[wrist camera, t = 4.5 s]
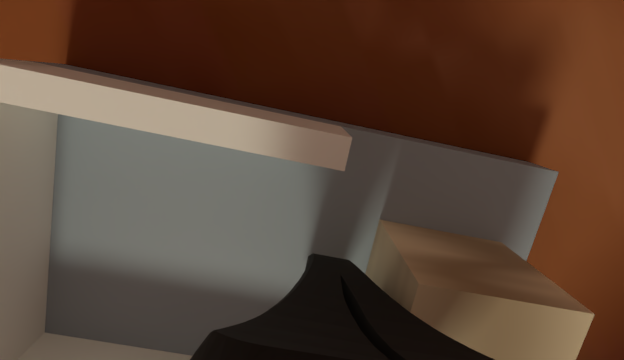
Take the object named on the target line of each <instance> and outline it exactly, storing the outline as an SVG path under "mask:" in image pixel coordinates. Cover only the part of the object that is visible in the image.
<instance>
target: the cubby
mask: <svg viewBox="0 0 624 360" xmlns="http://www.w3.org/2000/svg"><path fill="white" fill-rule="evenodd" d="M58 114H61V115H66V116H71V117H76V118H81V119H86V120H91V121H96V122H101V123H106V124H111V125H116V126H121V127H126V128H131V129H136V130H141V131H146V132H151V133H156V134H161V135H166V136H171V137H176V138H181V139H186V140H191V141H196V142H201V143H206V144H211V145H216V146H221V147H226V148H231V149H236V150H240V151H245V152H250V153H255V154H260V155H265V156H270V157H275V158H280V159H285V160H290V161H295V162H300V163H305V164H310V165H315V166H320V167H325V168H330V169H335V170H340V171H345V167H346V163H347V159H348V154H349V150H350V146H351V141H352V137H351V136H350V135H349V134H348V133H347V132H346V131H345V130H344V129H343V128H342V127H341V126H337V125H332V124H327V123H323V122H318V121H313V120H308V119H303V118H299V117H294V116H289V115H284V114H280V113H275V112H270V111H265V110H261V109H256V108H251V107H246V106H241V105H237V104H232V103H227V102H222V101H218V100H213V99H208V98H203V97H199V96H194V95H189V94H184V93H179V92H175V91H170V90H165V89H160V88H156V87H151V86H146V85H141V84H137V83H132V82H127V81H122V80H117V79H113V78H108V77H103V76H98V75H94V74H89V73H84V72H79V71H75V70H70V69H65V68H60V67H56V66H51V65H46V64H41V63H36V62H32V61H22V60H10V59H0V360H190V359H191V357H192V356H191V355H184V354H178V353H172V352H165V351H159V350H153V349H146V348H140V347H133V346H127V345H121V344H114V343H108V342H102V341H95V340H89V339H83V338H76V337H70V336H64V335H57V334H51V333H45V320H46V303H47V287H48V270H49V254H50V237H51V221H52V204H53V188H54V171H55V155H56V138H57V122H58Z"/></svg>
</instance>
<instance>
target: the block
mask: <svg viewBox="0 0 624 360" xmlns="http://www.w3.org/2000/svg"><path fill="white" fill-rule="evenodd" d="M365 274H366V275H367V276H368V277H369V278H370V279H371V280H372V281H373V282H374V283H375V284H376V285H377V286H379V287H380V288H381V289H382V290H383V291H384V292H385V293H387V294H388V295H389V296H390V297H391V298H392V299H394V300H395V301H396V302H397V303H399V304H400V305H401V306H402V307H404V308H405V309H406V310H408V311H409V312H410V313H412V314H413V315H415V316H416V317H418V318H419V319H421V320H422V321H424V322H425V323H427V324H428V325H430V326H431V327H433V328H434V329H436V330H438V331H440V332H441V333H443V334H445V335H446V336H448V337H450V338H452V339H454V340H456V341H458V342H459V343H461V344H463V345H465V346H467V347H469V348H471V349H473V350H475V351H477V352H479V353H481V354H484V355H486V356H488V357H490V358H493V359H495V360H576V358H577V356H578V353H579V351H580V349H581V346H582V344H583V341H584V339H585V337H586V334H587V332H588V329H589V327H590V325H591V322H592V320H593V317H594V315H595V314H594V313H592V312H591V311H590V310H589V309H587V308H586V307H585V306H583V305H582V304H581V303H580V302H578V301H577V300H576V299H574V298H573V297H572V296H570V295H569V294H568V293H567V292H565V291H564V290H563V289H561V288H560V287H559V286H557V285H556V284H555V283H554V282H552V281H551V280H550V279H548V278H547V277H546V276H544V275H543V274H542V273H541V272H539V271H538V270H537V269H535V268H534V267H533V266H532V265H530V264H529V263H528V262H526V261H525V260H524V259H522V258H521V257H520V256H519V255H517V254H516V253H515V252H513V251H512V250H511V249H509V248H508V247H507V246H506V245H504V244H503V243H502V242H497V241H492V240H487V239H481V238H476V237H470V236H465V235H460V234H454V233H449V232H444V231H438V230H433V229H428V228H422V227H417V226H412V225H406V224H401V223H395V222H390V221H385V220H379V223H378V227H377V231H376V235H375V239H374V242H373V246H372V250H371V254H370V258H369V262H368V266H367V269H366V273H365Z"/></svg>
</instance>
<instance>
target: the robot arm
mask: <svg viewBox="0 0 624 360" xmlns="http://www.w3.org/2000/svg"><path fill="white" fill-rule="evenodd" d="M190 360H495V359H493V358H490V357H488V356H486V355H484V354H481V353H479V352H477V351H475V350H473V349H471V348H469V347H467V346H465V345H463V344H461V343H459V342H458V341H456V340H454V339H452V338H450V337H448V336H446V335H445V334H443V333H441V332H440V331H438V330H436V329H434V328H433V327H431V326H430V325H428V324H427V323H425V322H424V321H422V320H421V319H419V318H418V317H416V316H415V315H413V314H412V313H410V312H409V311H408V310H406V309H405V308H404V307H402V306H401V305H400V304H399V303H397V302H396V301H395V300H394V299H392V298H391V297H390V296H389V295H388V294H387V293H385V292H384V291H383V290H382V289H381V288H380V287H379V286H377V285H376V284H375V283H374V282H373V281H372V280H371V279H370V278H369V277H368V276H367V275H366V274H365V273H363V272H362V271H361V270H360V269H359V268H358V267H357V266H356V265H355V264H354V263H352V262H351V261H350V260H347V259H342V258H336V257H330V256H325V255H319V254H314V253H312V254H311V255H309V256H308V259H307V263H306V268H305V271H304V273H303V274H302V276H301V278H300V279H299V281H298V282H297V283H296V284H295V286H294V287H293V288H292V289H291V291H290V292H289V293H288V294H287V295H286V296H285V297H284V298H283V299H282V300H280V301H279V302H278V303H277V304H276V305H274V306H273V307H272V308H270V309H269V310H268V311H266V312H265V313H263V314H261V315H259V316H257V317H255V318H253V319H251V320H248V321H246V322H243V323H240V324H236V325H233V326H229V327H225V328H221V329H216V330H213V331H212V332H210V333H209V335H208V336H207V337H206V338H205V340H204V341H203V342H202V344H201V345H200V346H199V348H198V349H197V350H196V352H195V353H194V354H193V356H192V357H191V359H190Z"/></svg>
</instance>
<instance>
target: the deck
mask: <svg viewBox="0 0 624 360" xmlns="http://www.w3.org/2000/svg"><path fill="white" fill-rule="evenodd" d="M32 62H33V61H32ZM36 63H41V64H46V65H51V66H56V67H60V68H65V69H70V70H75V71H79V72H84V73H89V74H94V75H98V76H103V77H108V78H113V79H117V80H122V81H127V82H132V83H137V84H141V85H146V86H151V87H156V88H160V89H165V90H170V91H175V92H179V93H184V94H189V95H194V96H199V97H203V98H208V99H213V100H218V101H222V102H227V103H232V104H237V105H241V106H246V107H251V108H256V109H261V110H265V111H270V112H275V113H280V114H284V115H289V116H294V117H299V118H303V119H308V120H313V121H318V122H323V123H327V124H332V125H337V126H341V127H342V128H343V129H344V130H345V131H346V132H347V133H348V134H349V135H350V136H351V137H352V141H351V146H350V150H349V154H348V159H347V163H346V167H345V171H340V170H335V169H330V168H325V167H320V166H315V165H310V164H305V163H300V162H295V161H290V160H285V159H280V158H275V157H270V156H265V155H260V154H255V153H250V152H245V151H240V150H236V149H231V148H226V147H221V146H216V145H211V144H206V143H201V142H196V141H191V140H186V139H181V138H176V137H171V136H166V135H161V134H156V133H151V132H146V131H141V130H136V129H131V128H126V127H121V126H116V125H111V124H106V123H101V122H96V121H91V120H86V119H81V118H76V117H71V116H66V115H61V114H58V122H57V138H56V155H55V171H54V188H53V204H52V221H51V237H50V254H49V270H48V287H47V303H46V320H45V333H51V334H57V335H64V336H70V337H76V338H83V339H89V340H95V341H102V342H108V343H114V344H121V345H127V346H133V347H140V348H146V349H153V350H159V351H165V352H172V353H178V354H184V355H191V356H193V354H194V353H195V352H196V350H197V349H198V348H199V346H200V345H201V344H202V342H203V341H204V340H205V338H206V337H207V336H208V335H209V333H210V332H212V331H213V330H216V329H221V328H225V327H229V326H233V325H236V324H240V323H243V322H246V321H248V320H251V319H253V318H255V317H257V316H259V315H261V314H263V313H265V312H266V311H268V310H269V309H270V308H272V307H273V306H274V305H276V304H277V303H278V302H279V301H280V300H282V299H283V298H284V297H285V296H286V295H287V294H288V293H289V292H290V291H291V289H292V288H293V287H294V286H295V284H296V283H297V282H298V281H299V279H300V278H301V276H302V274H303V273H304V271H305V268H306V263H307V259H308V256H309V255H311V254H312V253H314V254H319V255H325V256H330V257H336V258H342V259H347V260H350V261H351V262H352V263H354V264H355V265H356V266H357V267H358V268H359V269H360V270H361V271H362V272H363V273H366V269H367V266H368V262H369V258H370V254H371V250H372V246H373V242H374V239H375V235H376V231H377V227H378V223H379V220H385V221H390V222H395V223H401V224H406V225H412V226H417V227H422V228H428V229H433V230H438V231H444V232H449V233H454V234H460V235H465V236H470V237H476V238H481V239H487V240H492V241H497V242H502V243H503V244H504V245H506V246H507V247H508V248H509V249H511V250H512V251H513V252H515V253H516V254H517V255H519V256H520V257H521V258H522V259H524V260H525V261H526V260H527V258H528V255H529V252H530V249H531V247H532V244H533V241H534V238H535V236H536V233H537V230H538V227H539V225H540V222H541V219H542V216H543V214H544V211H545V208H546V205H547V203H548V200H549V197H550V194H551V192H552V189H553V186H554V183H555V181H556V178H557V175H558V172H557V171H554V170H551V169H548V168H545V167H542V166H539V165H536V164H533V163H530V162H527V161H522V160H517V159H513V158H508V157H503V156H498V155H494V154H489V153H484V152H479V151H475V150H470V149H465V148H460V147H456V146H451V145H446V144H441V143H437V142H432V141H427V140H422V139H418V138H413V137H408V136H403V135H399V134H394V133H389V132H384V131H380V130H375V129H370V128H365V127H361V126H356V125H351V124H346V123H342V122H337V121H332V120H327V119H323V118H318V117H313V116H308V115H304V114H299V113H294V112H289V111H285V110H280V109H275V108H270V107H266V106H261V105H256V104H251V103H247V102H242V101H237V100H232V99H228V98H223V97H218V96H213V95H209V94H204V93H199V92H194V91H190V90H185V89H180V88H175V87H171V86H166V85H161V84H156V83H152V82H147V81H142V80H137V79H133V78H128V77H123V76H118V75H114V74H109V73H104V72H99V71H95V70H90V69H85V68H80V67H76V66H71V65H66V64H56V63H45V62H36Z"/></svg>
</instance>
